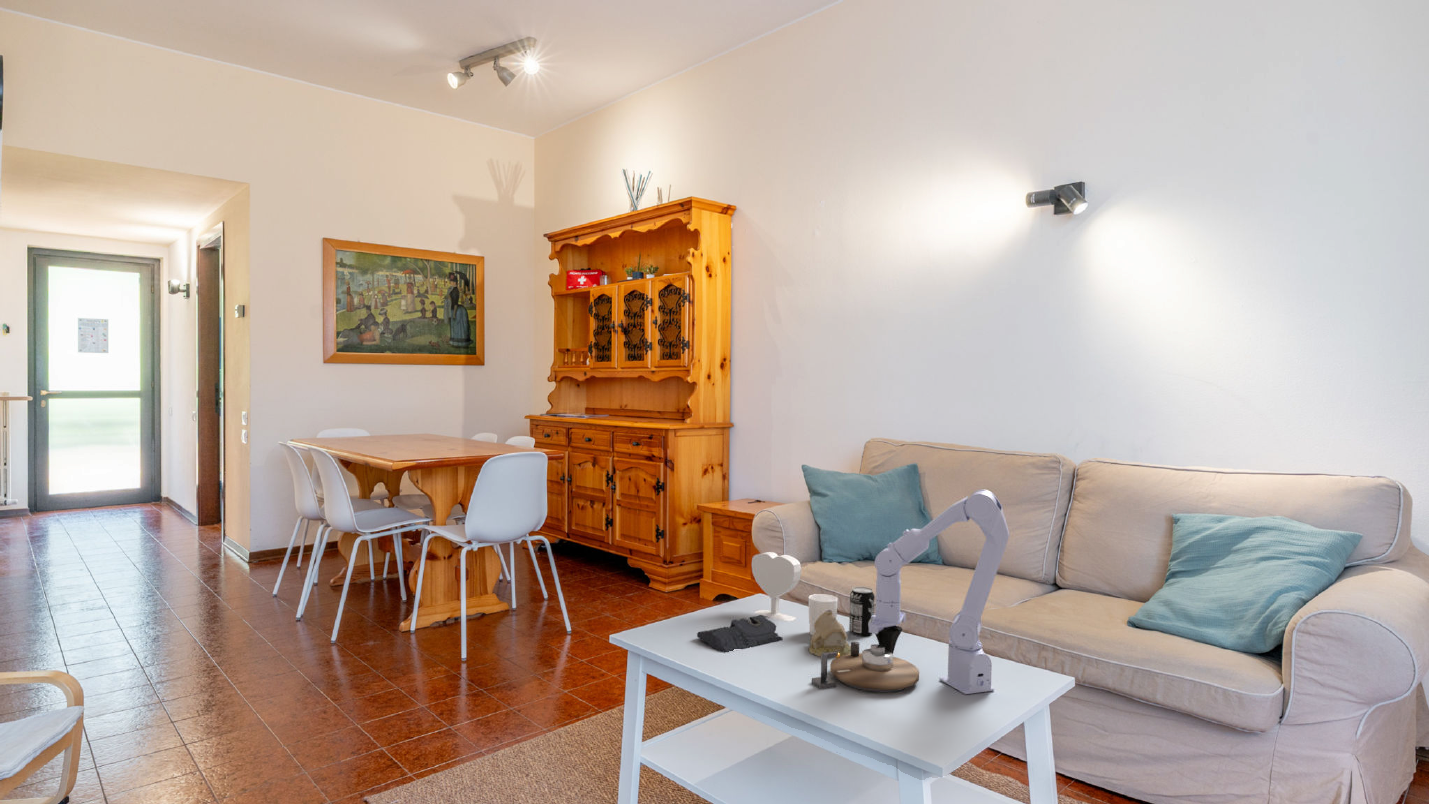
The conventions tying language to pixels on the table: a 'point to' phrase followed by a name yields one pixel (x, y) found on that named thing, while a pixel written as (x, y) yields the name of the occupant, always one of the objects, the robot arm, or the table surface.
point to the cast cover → (877, 659)
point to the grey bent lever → (825, 672)
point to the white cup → (820, 607)
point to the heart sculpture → (775, 579)
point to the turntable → (873, 672)
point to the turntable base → (874, 689)
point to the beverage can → (861, 610)
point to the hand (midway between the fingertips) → (886, 657)
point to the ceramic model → (829, 636)
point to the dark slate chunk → (741, 634)
